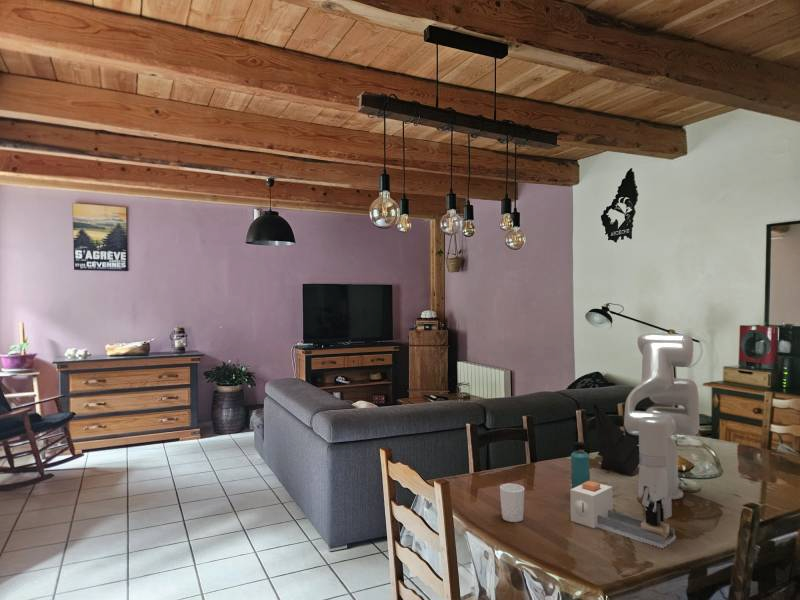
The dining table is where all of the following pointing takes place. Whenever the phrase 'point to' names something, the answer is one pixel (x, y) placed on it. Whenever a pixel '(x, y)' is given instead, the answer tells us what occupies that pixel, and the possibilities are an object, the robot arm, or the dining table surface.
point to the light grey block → (667, 505)
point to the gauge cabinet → (590, 504)
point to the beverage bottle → (579, 465)
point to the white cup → (512, 502)
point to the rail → (633, 529)
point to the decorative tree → (615, 445)
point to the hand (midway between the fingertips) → (654, 521)
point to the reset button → (591, 486)
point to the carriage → (660, 528)
